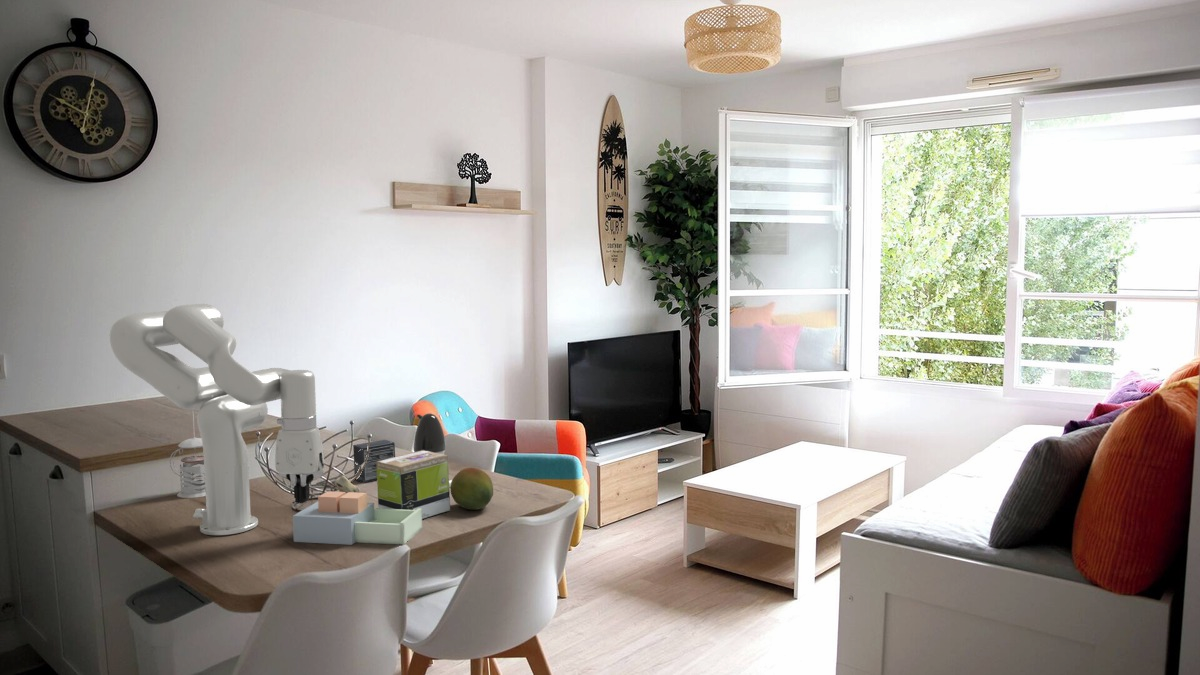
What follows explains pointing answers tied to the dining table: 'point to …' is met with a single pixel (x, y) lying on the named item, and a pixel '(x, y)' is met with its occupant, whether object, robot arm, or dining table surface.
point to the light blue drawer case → (328, 525)
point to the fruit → (472, 488)
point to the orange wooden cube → (329, 501)
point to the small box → (372, 458)
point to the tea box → (414, 483)
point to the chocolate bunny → (346, 485)
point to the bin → (389, 526)
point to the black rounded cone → (429, 435)
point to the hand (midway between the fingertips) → (302, 501)
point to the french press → (191, 470)
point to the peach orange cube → (353, 502)
